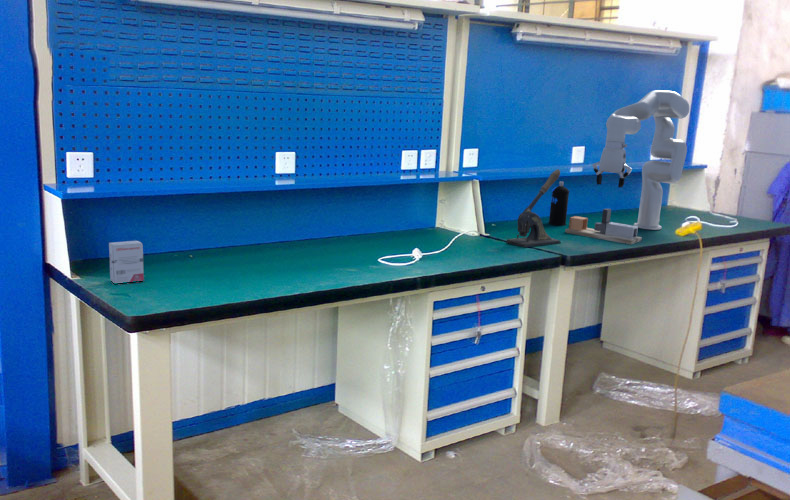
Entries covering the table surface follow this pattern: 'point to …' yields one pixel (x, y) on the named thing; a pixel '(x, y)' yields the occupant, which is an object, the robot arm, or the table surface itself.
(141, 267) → the ink box
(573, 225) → the socket
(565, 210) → the aerosol can
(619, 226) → the pale blue rectangular box
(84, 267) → the table surface
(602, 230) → the grey bar
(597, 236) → the base board
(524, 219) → the embossing press
